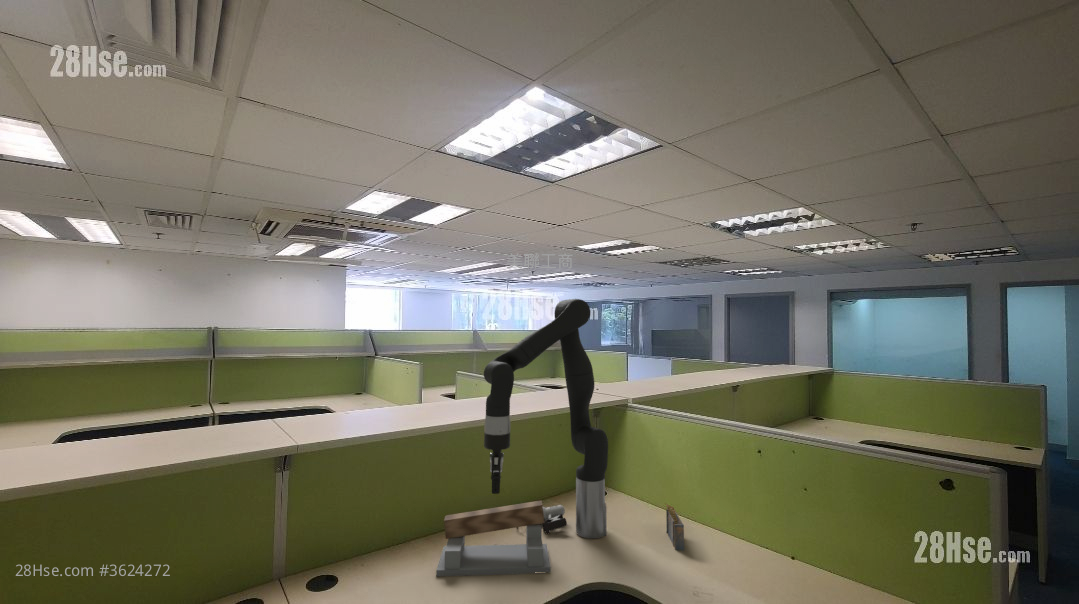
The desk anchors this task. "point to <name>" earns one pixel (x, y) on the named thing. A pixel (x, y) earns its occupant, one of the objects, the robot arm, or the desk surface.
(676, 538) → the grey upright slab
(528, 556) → the notch rack
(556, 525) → the clip-on lamp
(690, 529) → the desk surface
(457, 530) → the wooden plank
